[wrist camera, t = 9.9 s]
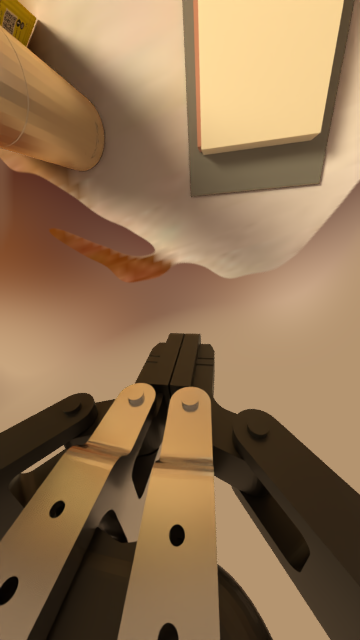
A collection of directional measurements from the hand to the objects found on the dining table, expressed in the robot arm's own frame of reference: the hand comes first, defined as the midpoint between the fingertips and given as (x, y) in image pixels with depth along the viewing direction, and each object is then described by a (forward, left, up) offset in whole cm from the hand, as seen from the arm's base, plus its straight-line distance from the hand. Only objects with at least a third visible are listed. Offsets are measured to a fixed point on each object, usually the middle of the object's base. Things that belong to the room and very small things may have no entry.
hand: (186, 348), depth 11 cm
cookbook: (0, +15, -27) cm, 31 cm away
